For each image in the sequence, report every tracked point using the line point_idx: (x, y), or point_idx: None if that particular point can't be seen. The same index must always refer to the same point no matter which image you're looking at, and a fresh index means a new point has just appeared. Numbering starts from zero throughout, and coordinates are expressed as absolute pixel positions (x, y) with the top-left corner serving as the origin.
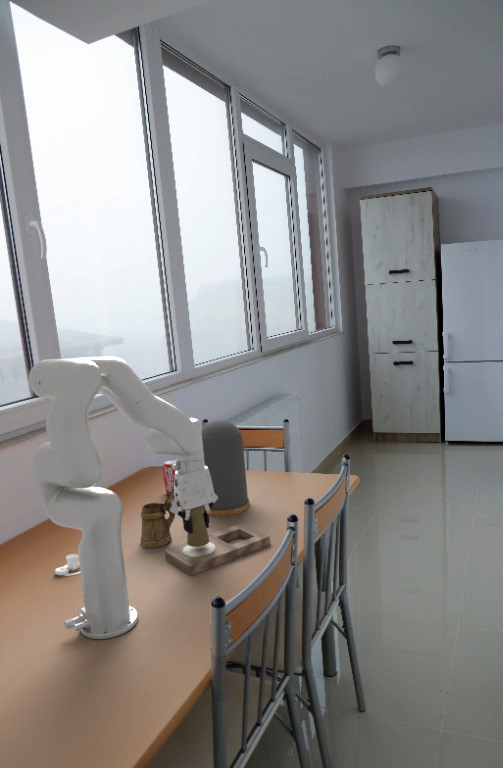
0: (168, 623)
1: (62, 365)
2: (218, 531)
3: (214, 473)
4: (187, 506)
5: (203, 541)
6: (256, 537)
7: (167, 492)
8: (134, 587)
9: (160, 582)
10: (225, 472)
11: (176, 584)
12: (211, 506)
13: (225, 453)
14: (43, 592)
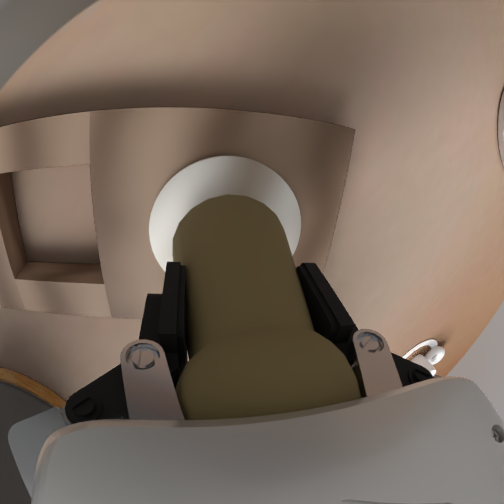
0: (481, 20)
1: None
2: (79, 314)
3: None
4: (466, 402)
5: (237, 204)
6: None
7: None
8: (446, 209)
9: (410, 174)
10: (3, 475)
11: (396, 121)
12: (93, 387)
13: None
14: (478, 310)
